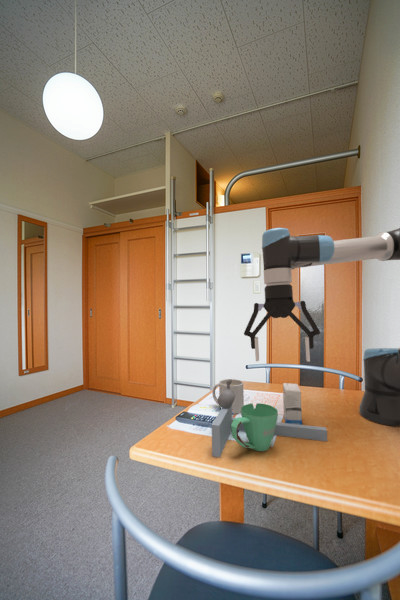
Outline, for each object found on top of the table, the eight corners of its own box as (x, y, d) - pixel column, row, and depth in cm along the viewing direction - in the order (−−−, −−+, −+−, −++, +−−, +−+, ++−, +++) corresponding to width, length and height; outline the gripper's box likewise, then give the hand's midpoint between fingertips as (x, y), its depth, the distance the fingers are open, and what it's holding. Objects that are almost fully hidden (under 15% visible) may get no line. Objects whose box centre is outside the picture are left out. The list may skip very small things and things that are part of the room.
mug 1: (248, 411, 99) (248, 383, 99) (225, 416, 96) (224, 387, 96) (233, 402, 109) (233, 376, 109) (211, 405, 106) (211, 379, 106)
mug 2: (258, 434, 82) (257, 400, 82) (286, 448, 74) (285, 410, 74) (220, 450, 73) (219, 412, 73) (247, 468, 65) (247, 425, 65)
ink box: (302, 429, 85) (301, 391, 85) (285, 428, 86) (285, 390, 86) (298, 418, 93) (297, 383, 93) (283, 417, 94) (282, 382, 94)
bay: (325, 435, 81) (324, 385, 81) (337, 475, 62) (335, 410, 62) (224, 423, 90) (223, 378, 90) (207, 455, 71) (206, 398, 71)
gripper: (324, 282, 78) (328, 358, 77) (236, 288, 85) (239, 357, 84) (328, 280, 70) (333, 363, 70) (231, 287, 77) (235, 362, 77)
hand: (282, 360), depth 77 cm, fingers open, 13 cm apart
